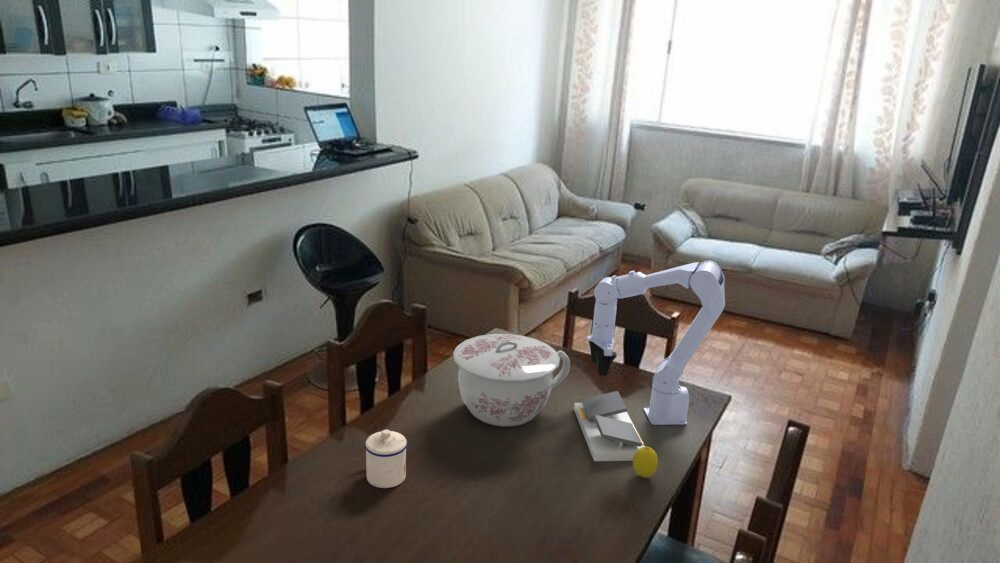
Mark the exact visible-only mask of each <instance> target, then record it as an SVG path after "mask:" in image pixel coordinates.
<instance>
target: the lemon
mask: <svg viewBox="0 0 1000 563" xmlns="http://www.w3.org/2000/svg"><path fill="white" fill-rule="evenodd" d="M658 463H659V459H658V455H657V452H656V451H655V450H654V449H653V448H652V447H650V446H645V447H641V448H639V449H638V450H637V451H636V453H635V455H634V458H633V461H632V467H633V470H634V472H635V473H636V474H637V475H638V476H639V477H641V478H650V477H651V476H653V475H654V474H655V473H656V471H657V469H658Z"/></svg>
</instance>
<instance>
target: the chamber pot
mask: <svg viewBox="0 0 1000 563" xmlns="http://www.w3.org/2000/svg"><path fill="white" fill-rule="evenodd" d="M452 356H453V357H452V358H453V361H454V363H455V364H456V365H457V366H458V370H457V381H458V387H459V393H460V398H461V400H462V402H463V403H464V405H465V406H466V408H467V410H468V411H470V413H471V415H473V417H475V418H476V419H477V420H479V421H480V422H482V423H485V424H488V425H491V426H494V427H495V426H497V427H515V426H521V425H524V424H526V423H527V422H530V421H532V420H533V419H534V418H535V417H536V416H537V415H538V414H539V413H540V412H541V411H542V410H543V408H544V407H545V406H546V405H547V404H548V400H549V397H550V394H551V391H552V390H553V389H554V388H556V387H557V386H558V385H559V384H561V383H562V382H563V381H564V380H565V378H566V377H567V376H569V372H570V370H571V360H570V358H569V355H567V354H566V352H565V351H563V350H557V351H556V350H555V348H553V347H552V346H550V345H549V344H547V343H545V342H543V341H541V340H539V339H537V338H533V337H529V336H525V335H520V334H512V333H490V334H483V335H477V336H474V337H471V338H468V339H465V340H464V341H462V342H461V343H459V344H458V345H457V346H456V347H455V349H454V351H453V353H452ZM561 360H562V366H561V370H560V371H559V372H558V373H557V375H556V376H555V377H554V375H553V373H554V371H556V370H557V369H558V368H559V367H560V362H561Z"/></svg>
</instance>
